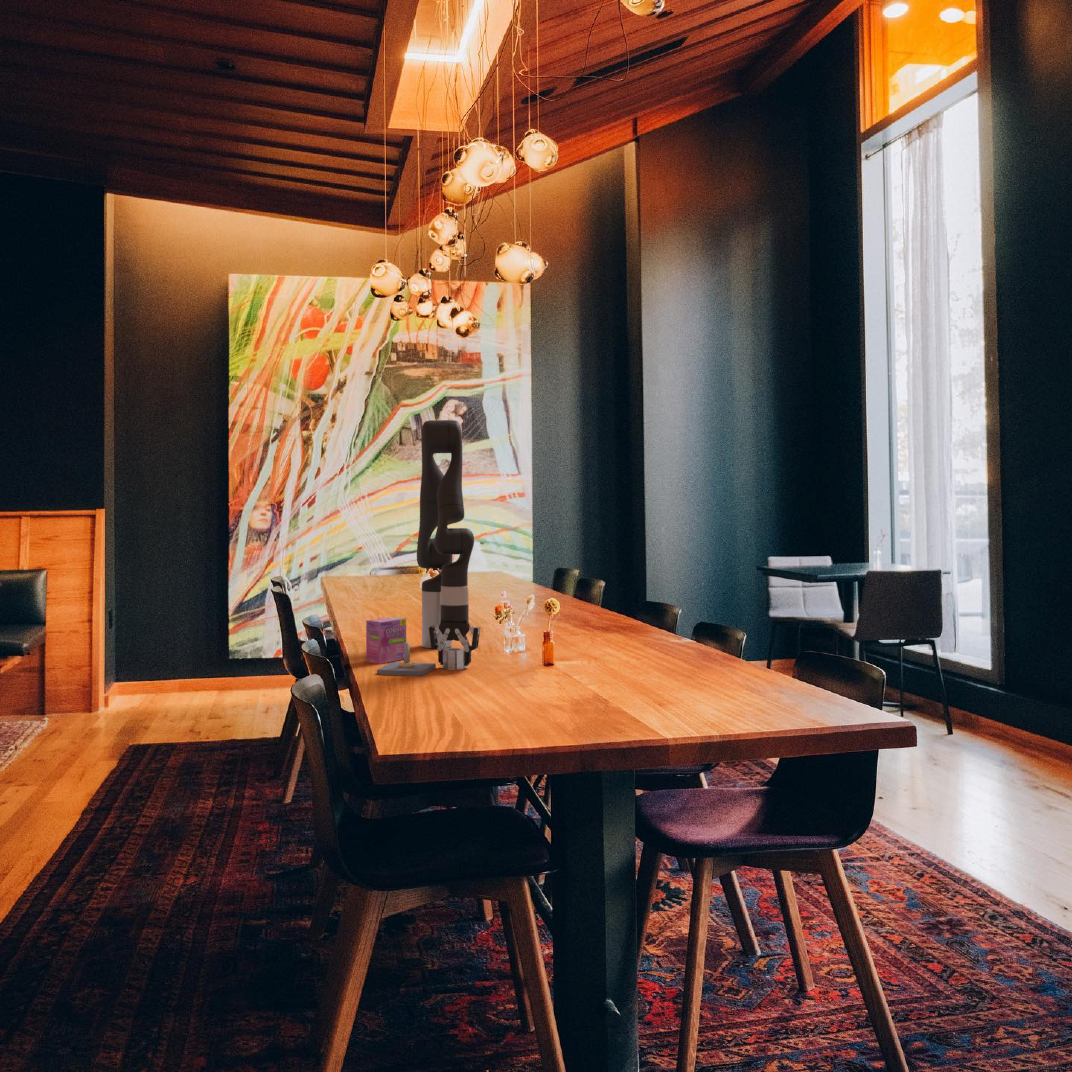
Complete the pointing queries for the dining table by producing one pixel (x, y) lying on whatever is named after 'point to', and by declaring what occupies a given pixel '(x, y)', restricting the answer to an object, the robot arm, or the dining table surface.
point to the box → (385, 639)
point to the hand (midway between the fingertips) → (454, 664)
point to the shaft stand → (406, 666)
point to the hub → (453, 659)
